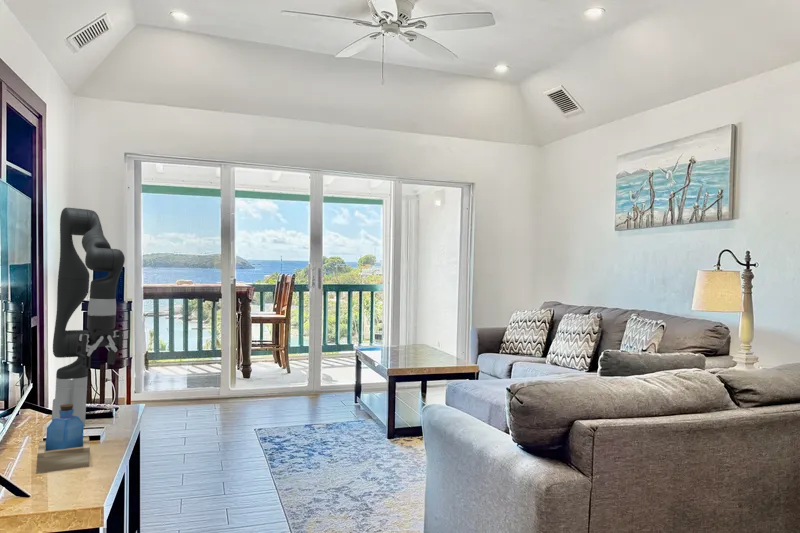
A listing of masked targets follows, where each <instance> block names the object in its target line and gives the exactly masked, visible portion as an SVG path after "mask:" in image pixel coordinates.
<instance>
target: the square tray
mask: <svg viewBox="0 0 800 533" xmlns="http://www.w3.org/2000/svg"><path fill="white" fill-rule="evenodd" d="M90 443H91V442H90V436H89V435H86V436H85V435H83V446H82V447H76V448H68V449H59V450H50V451H46V439H45V440H39V444H38V449H37V454H36V471H35V473H36V474H42V473H50V472H56V471H66V470H72V469H78V468H79V469H80V468H88V467H90V455H91V454H90V452H91V444H90Z"/></svg>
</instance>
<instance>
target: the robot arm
mask: <svg viewBox="0 0 800 533" xmlns="http://www.w3.org/2000/svg"><path fill="white" fill-rule="evenodd" d="M73 236H81V237H82V238H81V245H82V248H83V250H84V252H85V260H84V261H83V260H82V259H81V257H80V255H79V253H78V252H77V250H76V248H75V245H74V240H73ZM59 240H60V241H59V245H60V247H59V251H60V252H59V262H58V263H59V264H58V274H57V275H58V276H57V290H56V293H57V294H56V315H55V323H54V331H53V340H52V353H53V356H54V357H55V358H58V359H59V358H61V359H62V358H63V359H64V358H77V359H76V360H75V361H73V362H72V363H69V364H68V365H65V366H62V367H59V368H58V369H57V370H56V375H55V393H54V397H55V398H53V399H52V411H51V422H52V421H53V419H54V418H57V417H60V414H59V410H61V408H60V406H61V405H64V404H73V408H72V409H74V413H72V416H78V417H79V418H80V420H81V421H82V423H83V424H84V427H85V426H86V414H87V412H86V411H87V396H88V395H87V393H88V392H87V391H88V374H89V372H88V371H89V369H91V365H92V362H91V361H92V356H91V355H92V353H93V352H94V351H95V350H97V348H102V347H105V348H106V349H107V350H108V352H107V365H115V362H116V358H117V356H116V355H117V352H118V351H119V350H122V348H123V331H122V330H118V329H115V327H116V320H117V319H116V316H117V301H116V300H117V287H118V286H117V285H118V283H119V280H120V276H121V273H122V270H123V269H124V268H123V267H124V265H125V260H126V259H125V254H124V252H123V251H122V250H121V249H117V248H111V244H110V243H109V241H108V240H107V238H106V237H105V234H104V230H103V226H102V223H101V220H100V217H99V215H98V213H97V212H96V211H94V210H92V209H85V208H77V207H64V208H63V209H62V210H61V212H60V218H59ZM84 262H85V263H84ZM88 269H89V270H91V271H95V272H108V274H107V275H106V276H105V277H101V278H96V279H93V280H91V282H90V278H91V276H90V272H89V270H88ZM88 294H89V299H88V300H89V301H88V304H87V305H88V306H87V322H86V328H87V329H76V330H75V329H71V330H66V329H67V325H68V322H69V321H70V319H71V317H72V316H73V315H74V313H75V312H76V310H77V309H78V308H79V306H80V305H81V304H82V303H83V302H84V300H85V299H86V297H87V296H88Z"/></svg>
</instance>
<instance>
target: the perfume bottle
mask: <svg viewBox="0 0 800 533" xmlns="http://www.w3.org/2000/svg"><path fill="white" fill-rule="evenodd" d="M60 408H61V410H59V414H60V417H57V418H54V419H53V421H52V420H51V422H50V423H49V425H48V426H47V427H46V436H45V437H46V438H45V440H46V451H50V450H59V449H68V448H76V447H82V446H83V436H84V430H85V429H84V428H85V426H84V424H83V423H82V421H81V420H80V418H79V417H78V416H72V413H74V409H72V408H73V404H64V405H61V406H60Z"/></svg>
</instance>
